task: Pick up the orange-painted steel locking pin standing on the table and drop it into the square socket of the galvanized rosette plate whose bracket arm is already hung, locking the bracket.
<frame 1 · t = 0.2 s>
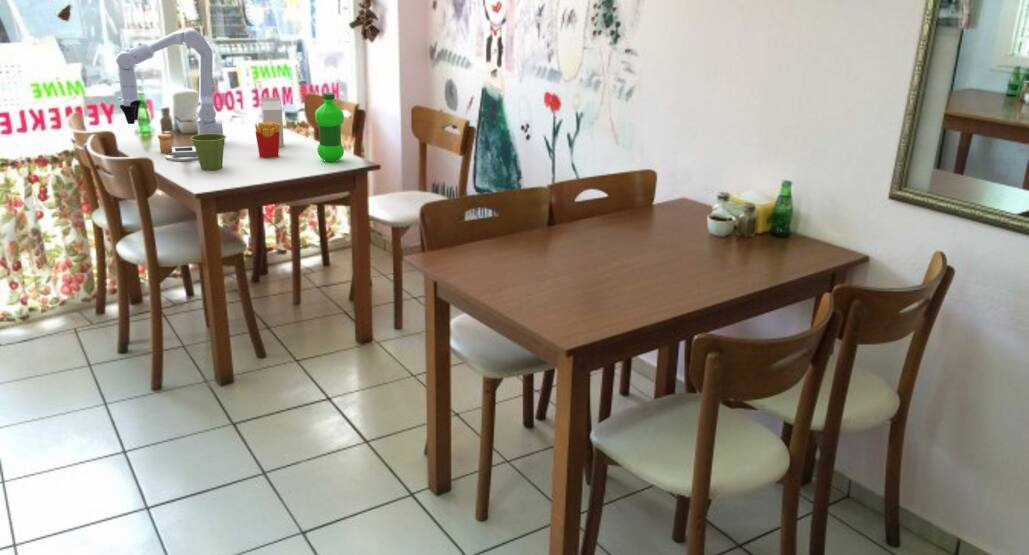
hand: (132, 121, 316), 10 cm above the table, tool pointing down, fingers open, 7 cm apart
plastic bottle: (330, 161, 315), on the table
milk carton: (273, 145, 333), on the table
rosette: (184, 157, 309), on the table
plant pot: (211, 168, 297), on the table
pin: (166, 152, 315), on the table
french fries: (269, 157, 317), on the table
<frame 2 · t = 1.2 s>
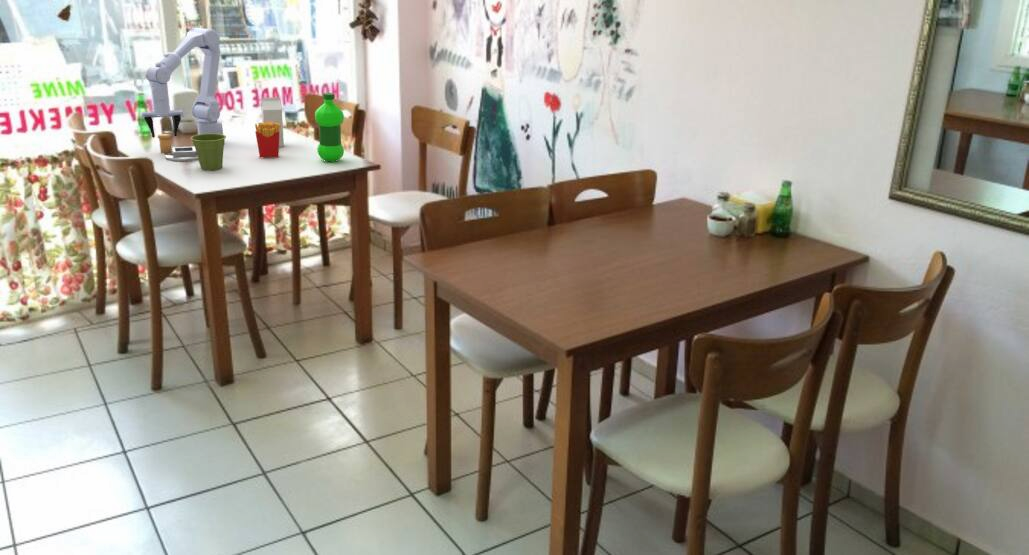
hand: (164, 136, 313), 6 cm above the table, tool pointing down, fingers open, 7 cm apart
nothing on the table moved.
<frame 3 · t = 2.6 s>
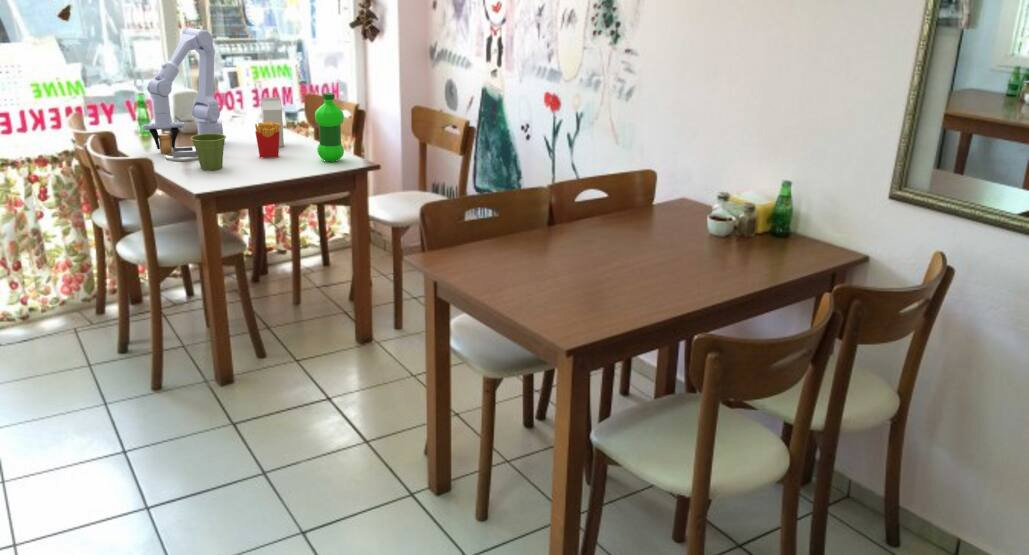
hand: (165, 148, 314), 2 cm above the table, tool pointing down, fingers closed on pin, 5 cm apart
pin: (166, 152, 315), on the table, touching gripper
everything else where it was.
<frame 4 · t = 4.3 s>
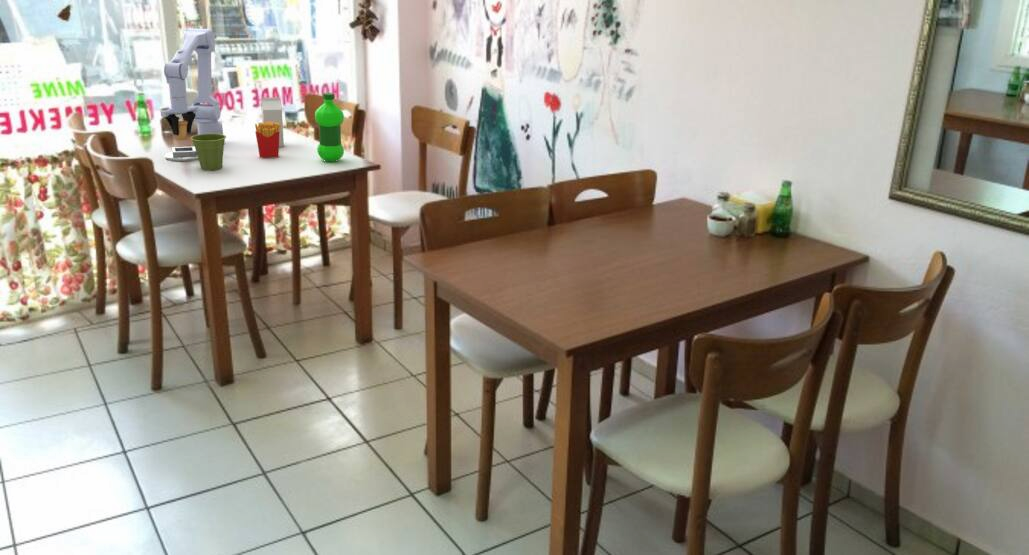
hand: (182, 133, 306), 9 cm above the table, tool pointing down, fingers closed on pin, 5 cm apart
pin: (180, 138, 307), point 7 cm above the table, tilted 5°, touching gripper
everything else where it was.
when the fingers open (4 cm above the table, at t = 6.1 s): pin stays where it is, resting on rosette.
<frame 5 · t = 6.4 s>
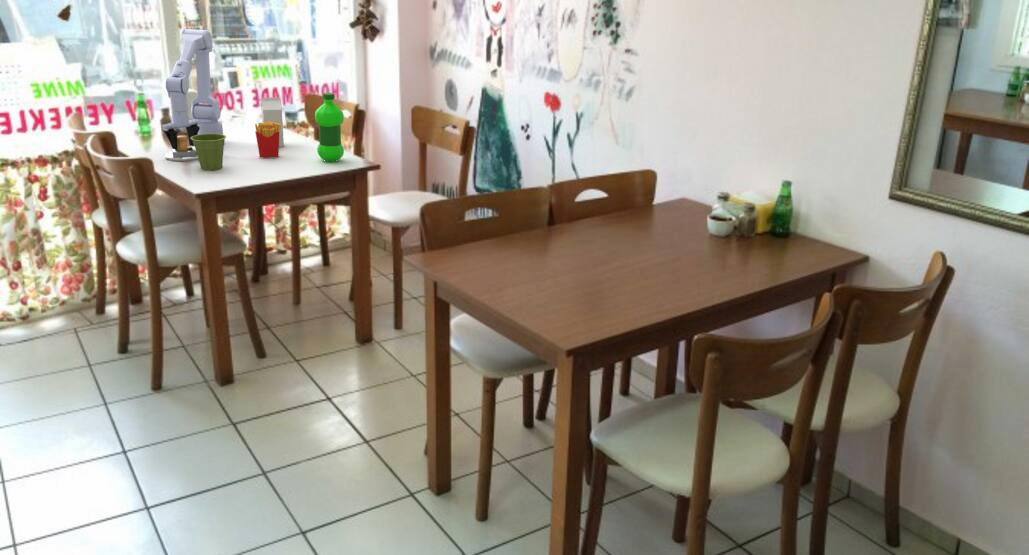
hand: (183, 147, 308), 4 cm above the table, tool pointing down, fingers open, 7 cm apart
pin: (182, 154, 309), point 1 cm above the table, touching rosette
everything else where it was.
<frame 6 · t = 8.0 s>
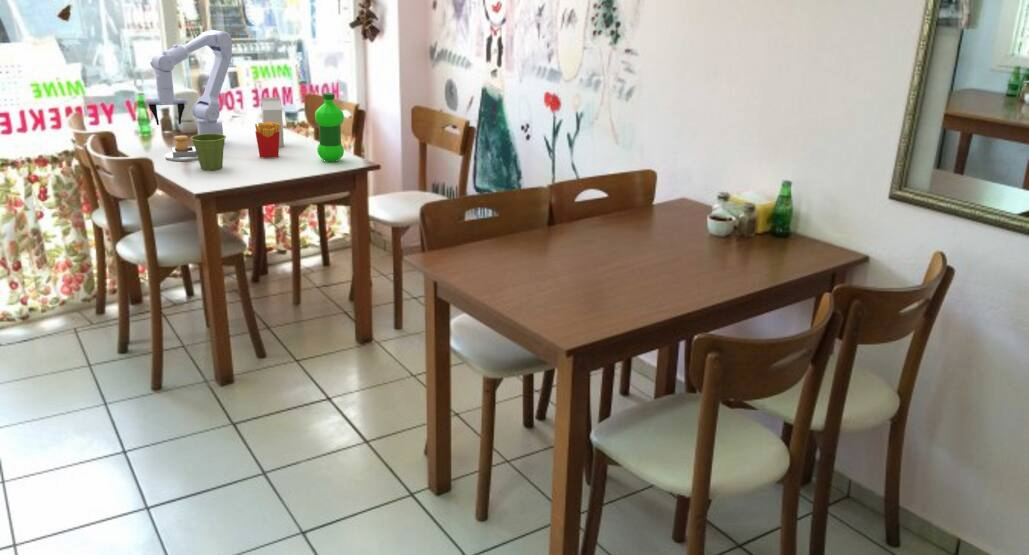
hand: (168, 124, 315), 10 cm above the table, tool pointing down, fingers open, 7 cm apart
nothing on the table moved.
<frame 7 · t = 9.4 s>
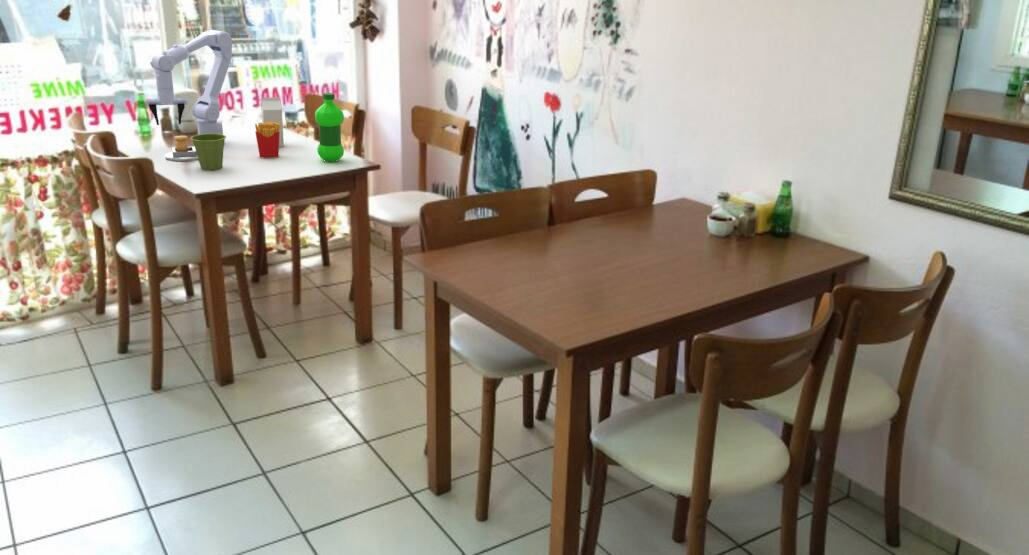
hand: (168, 124, 315), 10 cm above the table, tool pointing down, fingers open, 7 cm apart
nothing on the table moved.
at the end: pin 0.6 cm off-centre on the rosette, point 1.0 cm above the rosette's base; pin tilted 0°; the gripper is holding nothing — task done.
